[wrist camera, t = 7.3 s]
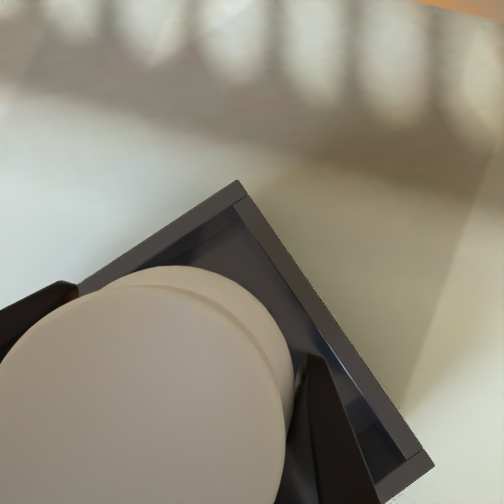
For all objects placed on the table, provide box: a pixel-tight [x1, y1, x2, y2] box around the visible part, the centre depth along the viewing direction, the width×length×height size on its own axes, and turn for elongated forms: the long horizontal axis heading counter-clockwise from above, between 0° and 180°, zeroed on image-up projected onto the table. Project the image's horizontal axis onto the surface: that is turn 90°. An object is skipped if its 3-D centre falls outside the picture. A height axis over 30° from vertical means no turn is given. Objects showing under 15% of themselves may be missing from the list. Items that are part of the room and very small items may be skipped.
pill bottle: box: [0, 266, 295, 504], centre depth 11 cm, size 6×6×10 cm
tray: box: [77, 180, 435, 504], centre depth 17 cm, size 14×14×4 cm
